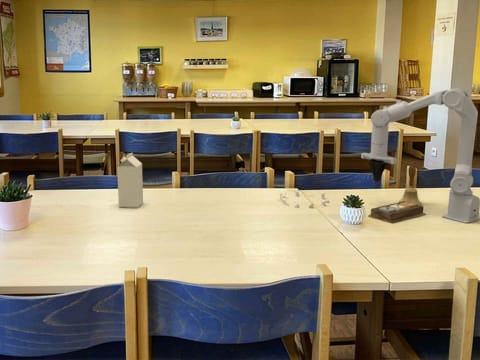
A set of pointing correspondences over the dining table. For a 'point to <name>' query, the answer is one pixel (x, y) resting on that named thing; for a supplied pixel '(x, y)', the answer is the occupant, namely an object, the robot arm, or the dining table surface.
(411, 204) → the key one terracotta
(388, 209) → the key three slate
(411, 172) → the hand bell
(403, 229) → the dining table surface
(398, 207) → the key two cream
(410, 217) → the wooden tray
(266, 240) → the dining table surface
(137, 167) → the milk carton
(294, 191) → the game piece set
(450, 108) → the robot arm
